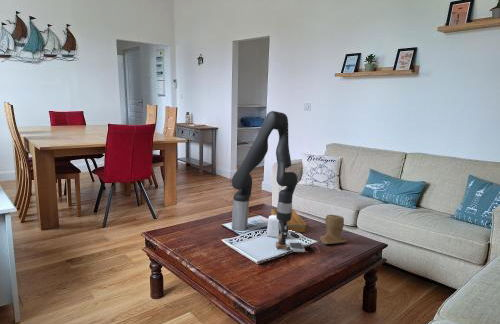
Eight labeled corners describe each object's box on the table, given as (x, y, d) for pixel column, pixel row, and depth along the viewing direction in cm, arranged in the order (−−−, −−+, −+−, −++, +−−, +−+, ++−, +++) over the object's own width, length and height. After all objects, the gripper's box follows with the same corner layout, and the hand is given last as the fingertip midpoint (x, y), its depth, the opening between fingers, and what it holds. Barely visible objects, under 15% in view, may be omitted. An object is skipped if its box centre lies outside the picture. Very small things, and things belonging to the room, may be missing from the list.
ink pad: (290, 251, 176) (291, 248, 176) (288, 245, 184) (288, 242, 183) (304, 252, 176) (304, 248, 176) (301, 245, 184) (301, 242, 184)
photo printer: (285, 237, 195) (287, 216, 193) (283, 239, 191) (285, 218, 189) (267, 233, 198) (269, 213, 196) (265, 236, 194) (267, 215, 192)
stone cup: (335, 236, 202) (338, 211, 199) (349, 244, 191) (352, 218, 189) (314, 238, 196) (316, 213, 193) (326, 247, 185) (329, 220, 182)
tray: (270, 216, 232) (271, 208, 231) (292, 216, 234) (293, 208, 233) (281, 233, 202) (282, 224, 201) (306, 233, 204) (307, 224, 203)
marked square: (305, 252, 176) (305, 251, 176) (301, 245, 184) (301, 245, 184) (320, 252, 177) (320, 252, 177) (316, 246, 185) (316, 245, 185)
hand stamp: (276, 250, 177) (278, 236, 176) (275, 246, 182) (276, 232, 180) (286, 250, 177) (287, 236, 176) (284, 246, 182) (286, 232, 181)
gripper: (275, 206, 183) (272, 235, 185) (279, 214, 169) (276, 245, 171) (289, 206, 183) (286, 235, 186) (294, 215, 169) (291, 246, 172)
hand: (281, 240), depth 179 cm, fingers open, 8 cm apart
